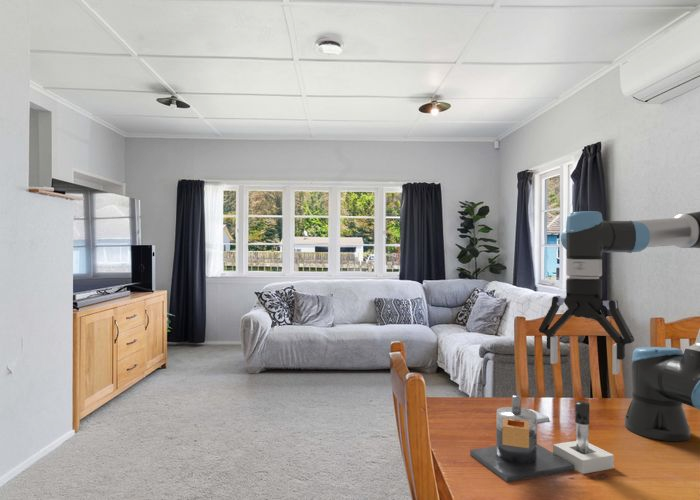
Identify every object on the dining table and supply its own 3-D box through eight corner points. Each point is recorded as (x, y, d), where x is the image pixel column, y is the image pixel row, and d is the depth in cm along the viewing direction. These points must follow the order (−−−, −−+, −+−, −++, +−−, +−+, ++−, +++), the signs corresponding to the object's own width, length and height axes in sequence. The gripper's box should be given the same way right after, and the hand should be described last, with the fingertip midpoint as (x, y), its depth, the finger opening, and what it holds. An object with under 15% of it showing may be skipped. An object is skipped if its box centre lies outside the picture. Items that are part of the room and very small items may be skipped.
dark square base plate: (531, 445, 118) (531, 418, 118) (574, 470, 105) (574, 439, 105) (470, 454, 112) (470, 425, 112) (507, 482, 99) (507, 449, 99)
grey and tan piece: (497, 419, 116) (497, 388, 116) (536, 424, 113) (536, 393, 113) (493, 443, 102) (494, 408, 102) (538, 449, 98) (538, 413, 98)
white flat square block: (582, 451, 114) (582, 439, 114) (613, 468, 106) (613, 455, 106) (553, 456, 112) (553, 444, 112) (582, 473, 103) (582, 460, 103)
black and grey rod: (578, 458, 111) (578, 400, 111) (591, 462, 108) (591, 403, 108) (573, 462, 109) (572, 402, 109) (586, 466, 107) (586, 406, 106)
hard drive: (514, 421, 132) (549, 417, 136) (496, 412, 139) (530, 408, 143) (514, 427, 132) (549, 422, 136) (496, 417, 139) (530, 413, 143)
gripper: (525, 276, 115) (524, 361, 115) (641, 280, 97) (640, 381, 97) (537, 274, 120) (537, 356, 120) (649, 279, 103) (649, 374, 103)
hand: (583, 368), depth 109 cm, fingers open, 13 cm apart
